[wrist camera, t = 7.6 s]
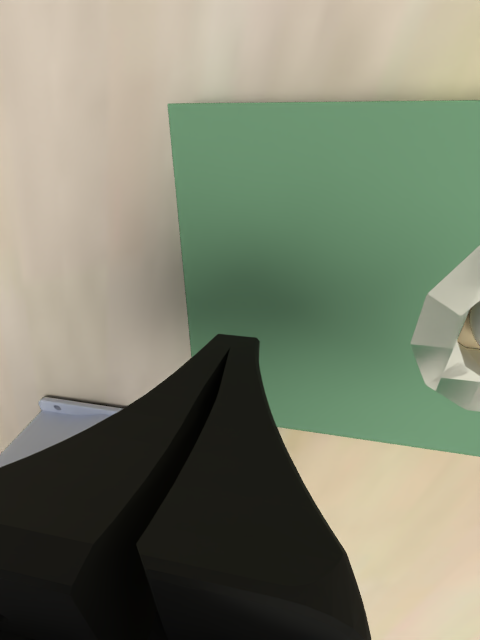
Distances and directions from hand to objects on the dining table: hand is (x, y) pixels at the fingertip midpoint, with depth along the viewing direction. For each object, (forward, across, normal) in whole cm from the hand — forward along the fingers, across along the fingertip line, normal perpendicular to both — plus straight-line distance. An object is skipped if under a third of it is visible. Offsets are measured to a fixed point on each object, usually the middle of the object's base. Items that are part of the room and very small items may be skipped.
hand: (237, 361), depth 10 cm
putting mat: (+6, -6, 0) cm, 9 cm away
